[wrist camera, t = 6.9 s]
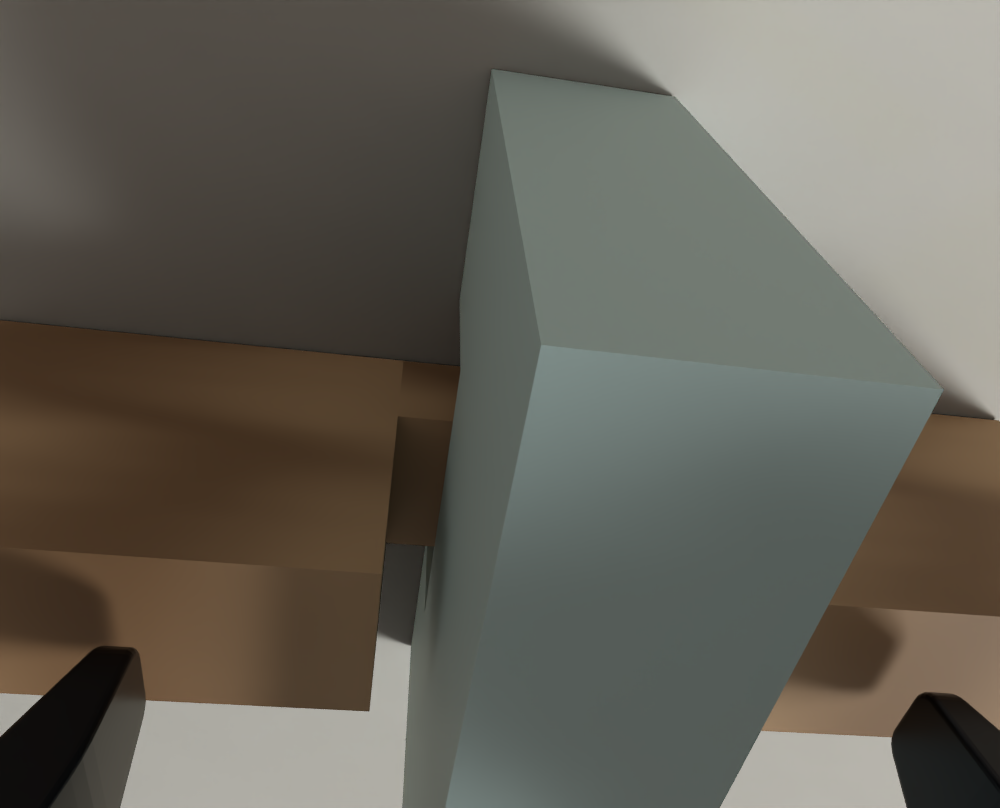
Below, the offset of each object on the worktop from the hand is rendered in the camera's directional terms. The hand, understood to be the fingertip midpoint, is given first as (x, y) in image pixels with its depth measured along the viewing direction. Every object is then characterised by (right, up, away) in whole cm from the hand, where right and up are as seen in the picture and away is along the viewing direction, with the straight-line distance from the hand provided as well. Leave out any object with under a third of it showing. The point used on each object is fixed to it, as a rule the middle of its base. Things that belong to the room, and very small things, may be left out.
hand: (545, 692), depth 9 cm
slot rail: (0, +3, +4) cm, 5 cm away
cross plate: (0, +3, +4) cm, 5 cm away
